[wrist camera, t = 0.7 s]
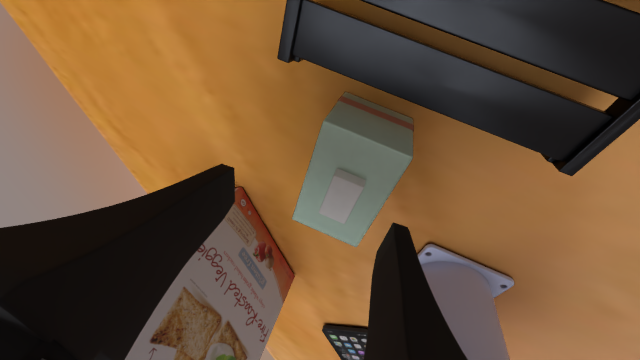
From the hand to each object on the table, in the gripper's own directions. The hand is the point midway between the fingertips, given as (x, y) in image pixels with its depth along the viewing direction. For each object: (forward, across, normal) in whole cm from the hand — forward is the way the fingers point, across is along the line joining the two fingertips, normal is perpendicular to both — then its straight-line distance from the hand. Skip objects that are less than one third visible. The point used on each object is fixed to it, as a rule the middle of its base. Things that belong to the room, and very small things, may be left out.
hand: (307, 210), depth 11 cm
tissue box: (+10, -1, +2) cm, 10 cm away
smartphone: (+9, -11, +35) cm, 38 cm away
